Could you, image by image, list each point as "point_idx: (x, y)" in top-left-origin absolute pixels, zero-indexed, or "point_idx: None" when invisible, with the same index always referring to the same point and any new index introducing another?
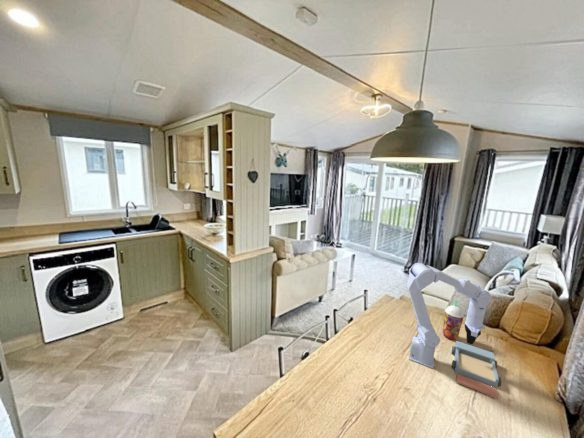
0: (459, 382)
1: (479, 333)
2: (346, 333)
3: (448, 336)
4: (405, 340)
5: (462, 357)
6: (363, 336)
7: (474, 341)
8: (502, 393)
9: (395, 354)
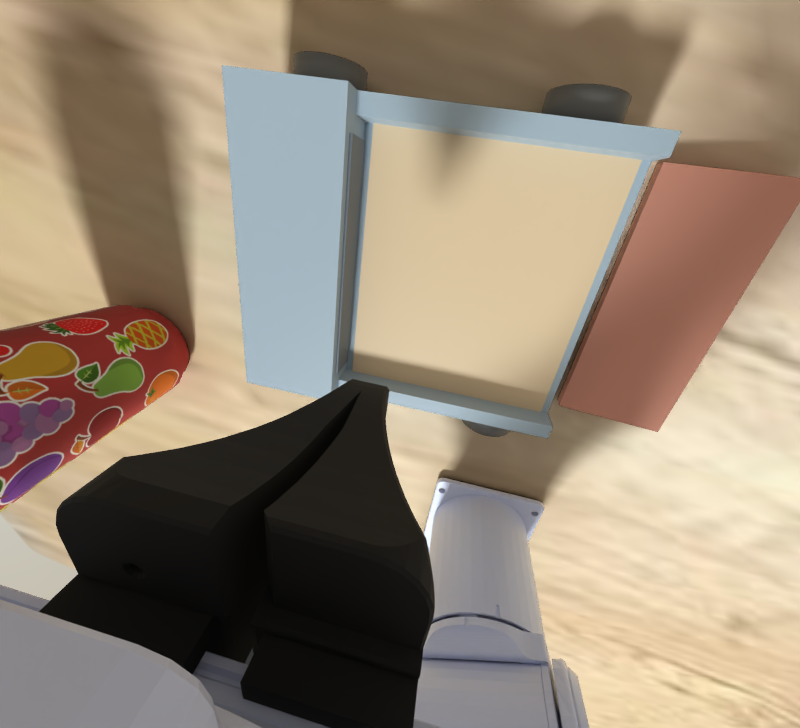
0: (660, 416)
1: (419, 602)
2: None
3: (178, 372)
4: None
5: (400, 354)
6: None
7: (384, 411)
8: (687, 110)
9: None
